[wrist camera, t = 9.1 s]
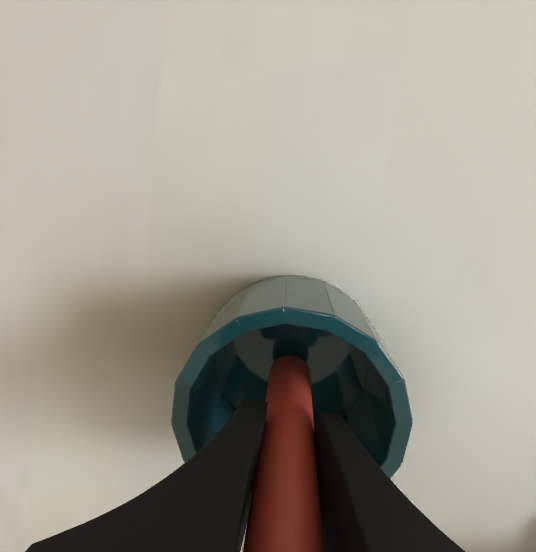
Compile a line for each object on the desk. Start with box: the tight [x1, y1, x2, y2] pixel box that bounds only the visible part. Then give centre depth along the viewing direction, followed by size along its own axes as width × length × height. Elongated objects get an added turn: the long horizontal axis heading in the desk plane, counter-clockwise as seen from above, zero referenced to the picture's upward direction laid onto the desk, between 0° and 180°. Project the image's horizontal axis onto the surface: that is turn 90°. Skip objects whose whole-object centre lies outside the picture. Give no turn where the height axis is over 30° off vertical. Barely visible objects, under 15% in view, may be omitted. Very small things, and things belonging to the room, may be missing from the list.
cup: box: [171, 276, 412, 479], centre depth 14 cm, size 7×7×4 cm
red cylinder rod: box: [243, 355, 324, 552], centre depth 10 cm, size 2×2×10 cm
